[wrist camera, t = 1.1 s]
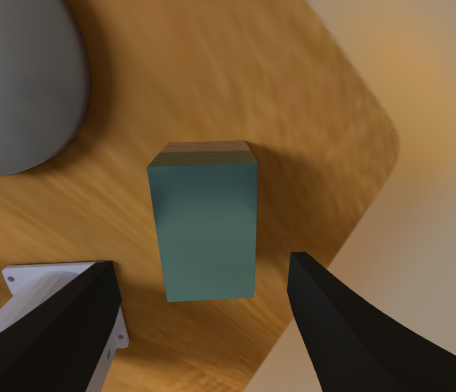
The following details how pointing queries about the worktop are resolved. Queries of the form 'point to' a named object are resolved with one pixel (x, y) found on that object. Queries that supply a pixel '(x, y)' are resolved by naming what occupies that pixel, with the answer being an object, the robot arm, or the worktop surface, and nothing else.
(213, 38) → the worktop surface
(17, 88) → the slate stand
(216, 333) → the worktop surface
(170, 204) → the block
